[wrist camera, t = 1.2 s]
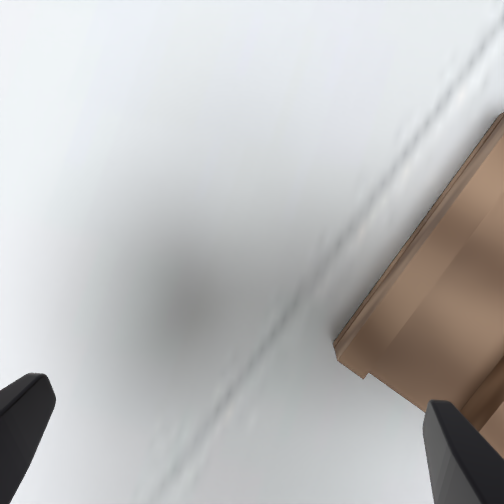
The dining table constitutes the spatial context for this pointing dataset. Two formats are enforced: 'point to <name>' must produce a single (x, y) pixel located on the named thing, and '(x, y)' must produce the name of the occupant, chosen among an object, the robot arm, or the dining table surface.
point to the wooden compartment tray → (444, 302)
